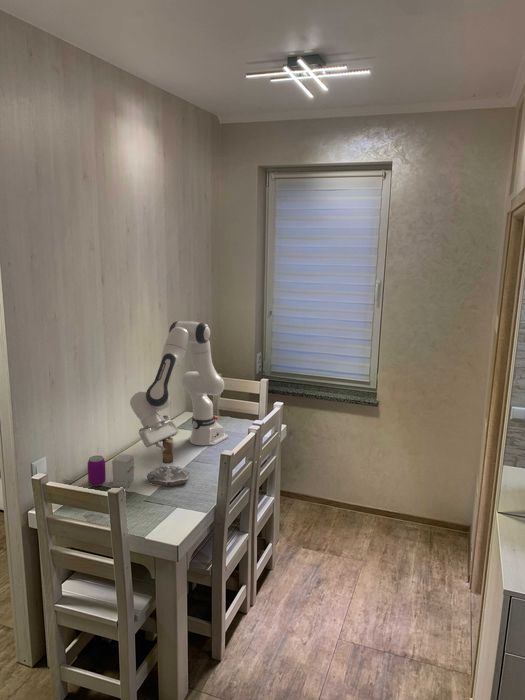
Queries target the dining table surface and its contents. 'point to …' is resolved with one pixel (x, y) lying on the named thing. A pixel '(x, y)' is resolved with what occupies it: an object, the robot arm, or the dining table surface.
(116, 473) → the supplement box
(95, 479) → the beverage can
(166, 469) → the brain slice
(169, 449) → the walnut pepper mill
